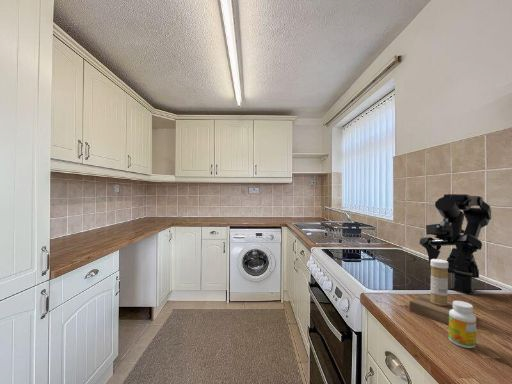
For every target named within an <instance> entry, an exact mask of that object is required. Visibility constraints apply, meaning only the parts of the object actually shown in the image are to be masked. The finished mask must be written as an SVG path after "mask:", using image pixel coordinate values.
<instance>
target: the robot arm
mask: <svg viewBox="0 0 512 384" xmlns="http://www.w3.org/2000/svg"><path fill="white" fill-rule="evenodd" d="M434 202H435V203H434V204H435V206H434V207H435V208H436V210H437V211H438V213H439V214H440V215H441V217H443V220H442V221H440V223H433V224H426V225H425V232H426V233H425V235H429V236H430V235H432V236H434V238H433V237H431V236H430V237H429V236H428V237H421V238H420V239H419V245H421V247H422V248H424V249H425V250H426V253H427V257H428V263H429V265H430V264H431V259H438V258H439V255H440V253H441V251H440V250H441V248H442V247H445V246H455V248H454V247H453V248H452V249H451V251H450V254H449V255H448V257H447V258H446V261H448V273H449V274H453V283H452V284H453V285H452V286H449V290H452V291H455V290H456V292H459V291H460V292H459V293H462V292H463V294H467V295H471V294H473V293H475V292H476V289H473V279H479V278H480V270H479V266H478V264H477V262H476V259H475V256H474V253H476V252H477V251H478V250H482V248H483V243H482V241H481V240H480V239H479V237H480V233H481V230H482V229H483V228H484V227H486V226H488V224H489V223H490V220H492V218H491V212H492V209H491V206H490V204H488V203H487V202H485V201H484V199H483V197H482V196H480V195H469V194H466V193H465V194H461V193H457V194H456V193H449V194H443V196H442V197H440V198H438V199H437V200H436V201H434ZM465 220H466V226H465V229H463V225H464V221H465ZM437 239H438V240H437ZM474 291H475V292H474ZM472 292H473V293H472Z"/></svg>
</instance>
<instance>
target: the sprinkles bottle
mask: <svg viewBox="0 0 512 384" xmlns="http://www.w3.org/2000/svg"><path fill="white" fill-rule="evenodd" d="M429 265H430V294H431V299H430V301H431V302H432V303H433V304H435V305H439V306H447V305H448V303H447V300H448V292H449V291H448V289H449V288H448V287H449V285H448V284H449V283H448V282H449V281H448V280H449V278H448V277H449V275H448V261H447V260H445V259H440V258H439V259H438V258H437V259H431V264H429Z"/></svg>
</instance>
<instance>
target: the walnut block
mask: <svg viewBox="0 0 512 384" xmlns="http://www.w3.org/2000/svg"><path fill="white" fill-rule="evenodd" d="M430 299H431V293H425V294H423V295H422V296H419V297H416V298H414V299H412V300H410V301H409V311H410V312H412V313H415V314H418V315H420V316H422V317H425V318H428V319H431V320H433V321H435V322H438V323H441V324H443V325H447V326H449V311H450V310H451V309H454V308H453V301H454V300H451V299H447V303H448V305H447V306H439V305H435V304H433V303H432V302H431V301H430Z"/></svg>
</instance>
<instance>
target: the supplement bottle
mask: <svg viewBox="0 0 512 384" xmlns="http://www.w3.org/2000/svg"><path fill="white" fill-rule="evenodd" d="M452 301H453V308H454V309H451V310H450V311H449V325H448V340H449V341H450V342H451V343H453V344H454V345H456V346H458V347H461V348H465V349H474V348H475V347H476V345H477V317H476V315H475V314H474V313H473V312H474V306H473V305H472V304H471V303H469V302H466V301H462V300H452Z"/></svg>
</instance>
